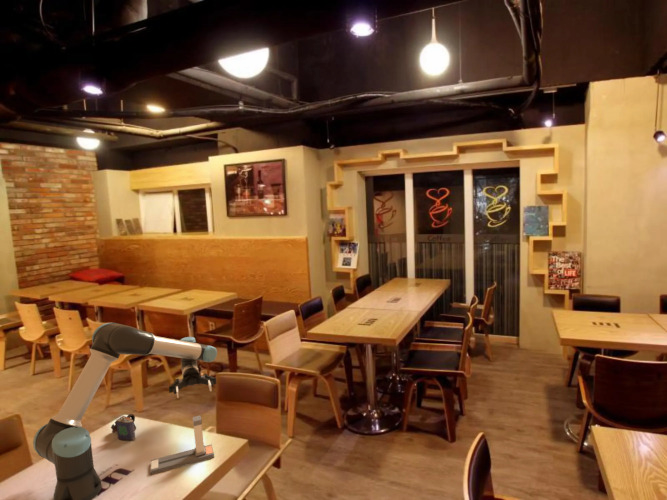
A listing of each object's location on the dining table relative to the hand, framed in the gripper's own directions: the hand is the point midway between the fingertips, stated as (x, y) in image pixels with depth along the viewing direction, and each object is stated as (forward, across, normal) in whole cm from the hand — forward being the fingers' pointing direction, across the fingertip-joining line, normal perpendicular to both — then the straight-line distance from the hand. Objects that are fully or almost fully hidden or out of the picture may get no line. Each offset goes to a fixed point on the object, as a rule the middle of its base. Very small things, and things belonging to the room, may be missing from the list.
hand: (194, 391), depth 181 cm
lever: (+10, 0, -22) cm, 24 cm away
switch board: (+10, +7, -24) cm, 27 cm away
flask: (-21, +30, -24) cm, 44 cm away
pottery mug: (-30, +30, -24) cm, 49 cm away
